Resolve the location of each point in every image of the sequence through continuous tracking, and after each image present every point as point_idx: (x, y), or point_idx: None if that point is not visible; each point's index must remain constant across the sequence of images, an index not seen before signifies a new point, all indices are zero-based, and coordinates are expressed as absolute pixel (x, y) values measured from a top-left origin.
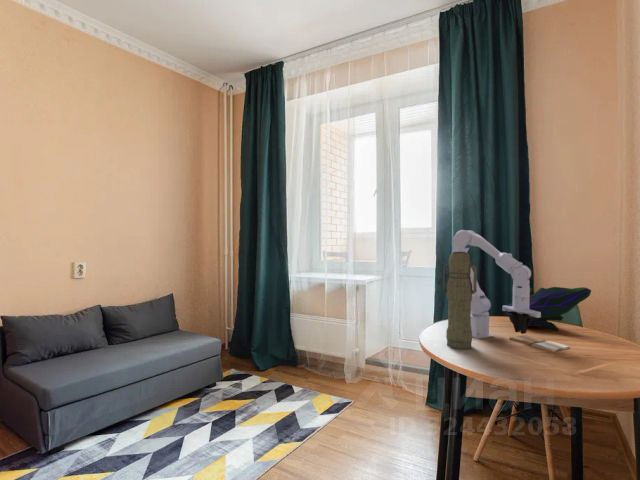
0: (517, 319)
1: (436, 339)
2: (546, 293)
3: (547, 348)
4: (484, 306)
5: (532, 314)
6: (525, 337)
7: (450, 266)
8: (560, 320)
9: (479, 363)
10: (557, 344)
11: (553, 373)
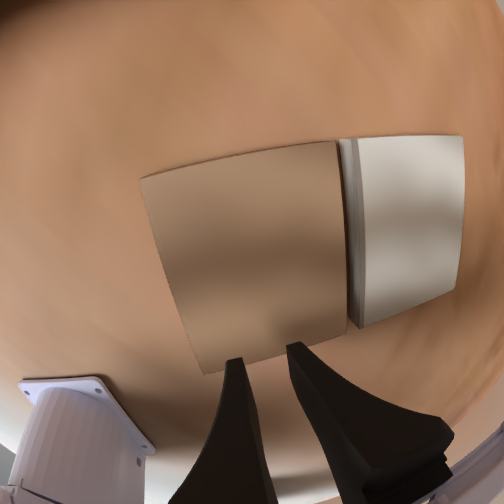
0: (268, 480)
1: (149, 500)
2: None
3: (435, 296)
4: None
5: (475, 469)
6: (222, 258)
7: None
8: None
9: None
10: (428, 169)
11: (471, 383)
